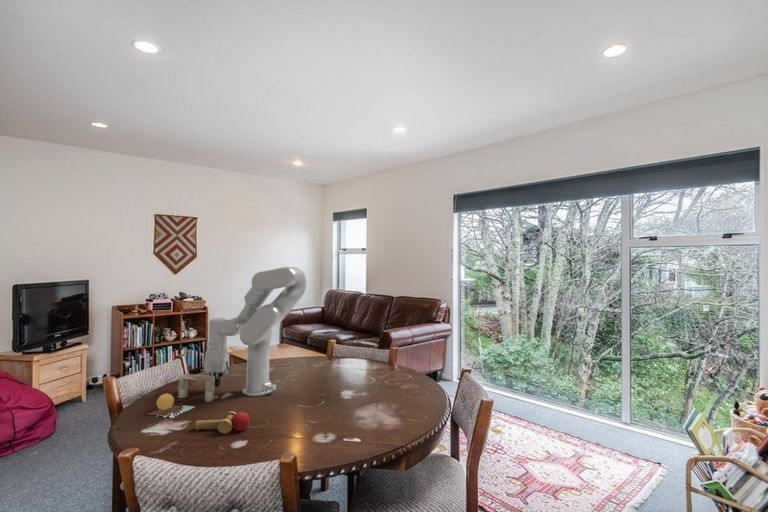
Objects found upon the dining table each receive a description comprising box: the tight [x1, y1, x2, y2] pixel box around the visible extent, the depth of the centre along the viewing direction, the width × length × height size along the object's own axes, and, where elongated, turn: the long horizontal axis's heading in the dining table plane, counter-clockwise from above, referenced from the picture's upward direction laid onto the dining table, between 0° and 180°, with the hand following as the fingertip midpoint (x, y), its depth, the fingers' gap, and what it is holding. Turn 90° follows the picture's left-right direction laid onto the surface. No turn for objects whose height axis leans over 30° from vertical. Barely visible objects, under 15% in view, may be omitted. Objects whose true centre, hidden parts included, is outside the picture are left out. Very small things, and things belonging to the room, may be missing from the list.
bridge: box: [177, 373, 215, 403], centre depth 164 cm, size 3×15×10 cm, turn 76°
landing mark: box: [156, 404, 195, 419], centre depth 150 cm, size 12×12×1 cm
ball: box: [156, 393, 175, 410], centre depth 152 cm, size 6×6×6 cm
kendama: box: [194, 410, 251, 434], centre depth 134 cm, size 8×6×18 cm
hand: (216, 386), depth 177 cm, fingers closed
